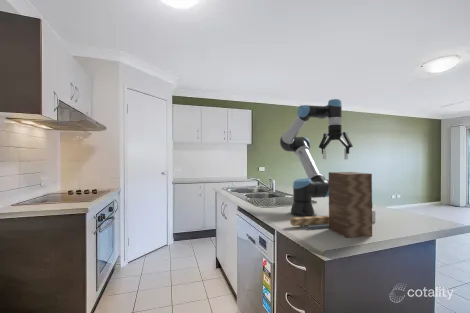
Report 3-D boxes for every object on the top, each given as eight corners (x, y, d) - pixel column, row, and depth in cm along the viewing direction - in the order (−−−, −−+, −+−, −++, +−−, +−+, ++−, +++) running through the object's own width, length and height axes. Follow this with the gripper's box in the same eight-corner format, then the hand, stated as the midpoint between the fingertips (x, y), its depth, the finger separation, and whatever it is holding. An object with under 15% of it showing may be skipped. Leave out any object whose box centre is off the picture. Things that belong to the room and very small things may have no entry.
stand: (346, 238, 110) (345, 174, 110) (329, 229, 124) (328, 172, 124) (372, 235, 113) (371, 173, 113) (352, 227, 126) (351, 171, 126)
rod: (293, 225, 125) (293, 219, 125) (290, 224, 128) (290, 217, 128) (336, 222, 129) (336, 216, 129) (333, 221, 133) (333, 215, 133)
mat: (308, 229, 123) (308, 226, 123) (299, 224, 133) (299, 221, 133) (332, 227, 125) (332, 225, 125) (322, 222, 135) (322, 220, 135)
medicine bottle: (375, 223, 134) (375, 202, 134) (362, 222, 135) (361, 201, 135) (370, 219, 141) (370, 200, 141) (358, 219, 142) (357, 199, 142)
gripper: (313, 126, 151) (313, 159, 151) (353, 122, 132) (353, 159, 132) (319, 127, 156) (319, 159, 156) (358, 123, 137) (358, 159, 137)
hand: (334, 159), depth 144 cm, fingers open, 13 cm apart
